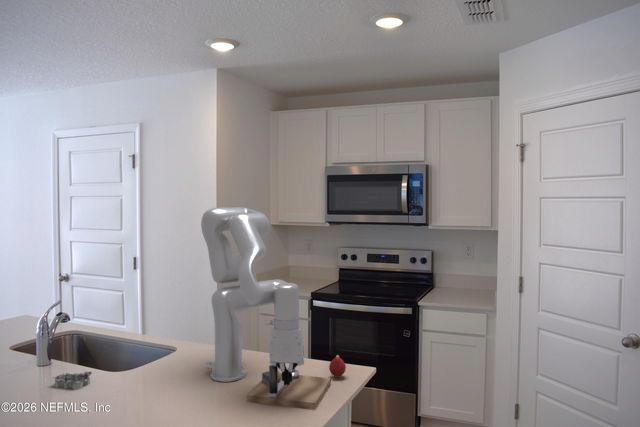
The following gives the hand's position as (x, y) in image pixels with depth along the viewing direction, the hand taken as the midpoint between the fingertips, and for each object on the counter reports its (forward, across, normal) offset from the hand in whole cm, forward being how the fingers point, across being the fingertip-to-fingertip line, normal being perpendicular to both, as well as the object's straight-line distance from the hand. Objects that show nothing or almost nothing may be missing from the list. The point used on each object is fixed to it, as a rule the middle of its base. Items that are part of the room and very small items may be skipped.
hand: (287, 383), depth 143 cm
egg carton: (+6, -75, +8) cm, 75 cm away
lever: (+4, -2, +9) cm, 10 cm away
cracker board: (+6, 0, +9) cm, 11 cm away
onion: (+7, +14, +22) cm, 27 cm away
